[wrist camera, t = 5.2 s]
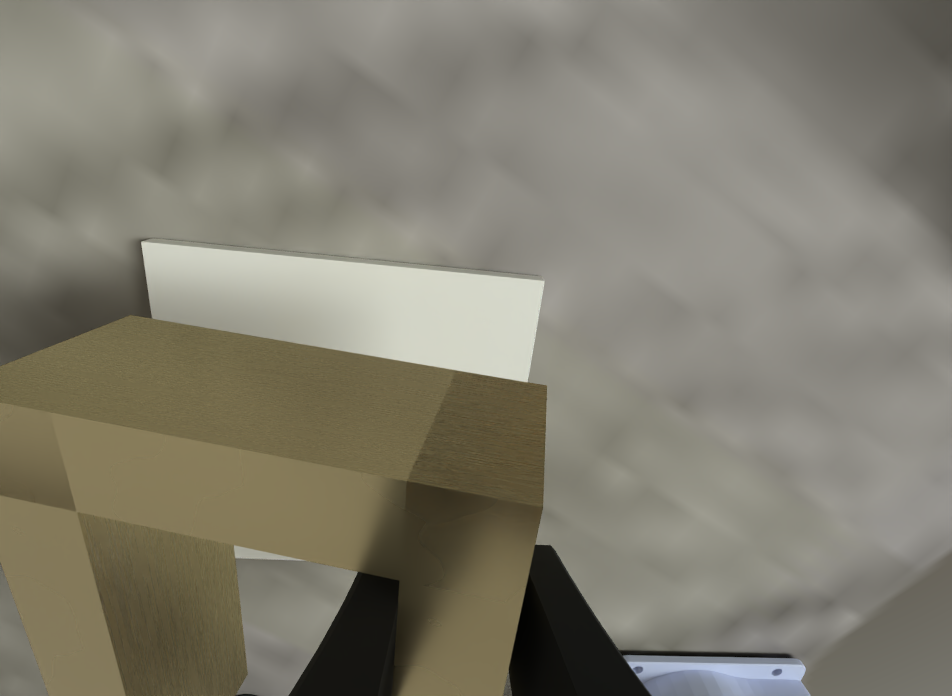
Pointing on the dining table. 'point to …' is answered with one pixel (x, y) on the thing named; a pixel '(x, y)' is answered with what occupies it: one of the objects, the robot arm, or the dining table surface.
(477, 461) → the c link
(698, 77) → the dining table surface
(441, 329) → the coaster
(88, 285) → the dining table surface
